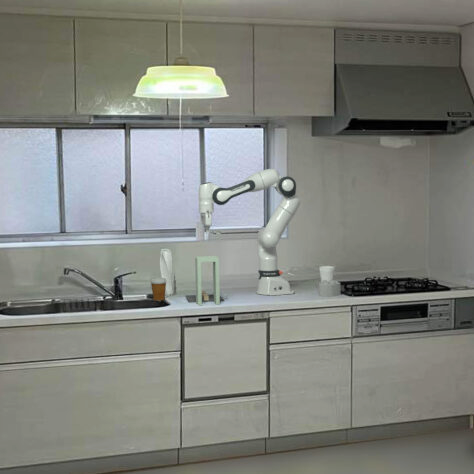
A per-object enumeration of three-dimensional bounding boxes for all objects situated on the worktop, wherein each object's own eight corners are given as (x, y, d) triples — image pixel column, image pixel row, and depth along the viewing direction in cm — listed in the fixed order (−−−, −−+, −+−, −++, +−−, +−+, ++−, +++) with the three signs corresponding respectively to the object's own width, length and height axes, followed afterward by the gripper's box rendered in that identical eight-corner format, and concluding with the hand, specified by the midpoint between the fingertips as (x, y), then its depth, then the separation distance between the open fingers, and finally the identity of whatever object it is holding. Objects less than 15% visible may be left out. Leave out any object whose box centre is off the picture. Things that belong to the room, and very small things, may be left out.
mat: (218, 295, 432) (218, 294, 432) (224, 300, 411) (224, 299, 411) (185, 296, 428) (185, 295, 428) (188, 302, 408) (188, 301, 408)
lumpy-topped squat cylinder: (342, 295, 425) (342, 280, 424) (326, 297, 418) (326, 282, 417) (331, 292, 434) (331, 278, 433) (314, 295, 427) (314, 280, 426)
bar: (199, 295, 429) (199, 290, 429) (203, 294, 429) (203, 290, 429) (204, 300, 410) (204, 296, 410) (208, 300, 411) (208, 295, 411)
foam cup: (333, 288, 448) (333, 268, 447) (318, 288, 450) (318, 267, 449) (334, 286, 457) (334, 266, 456) (320, 286, 459) (320, 266, 458)
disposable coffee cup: (160, 301, 412) (159, 280, 411) (147, 300, 418) (146, 279, 416) (170, 298, 421) (170, 278, 420) (157, 297, 426) (157, 277, 425)
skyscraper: (169, 296, 430) (168, 249, 428) (158, 295, 434) (156, 248, 431) (176, 294, 438) (175, 248, 435) (165, 293, 441) (164, 247, 439)
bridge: (217, 301, 409) (216, 255, 407) (219, 304, 400) (218, 257, 397) (196, 302, 408) (195, 256, 405) (198, 305, 398) (197, 258, 395)
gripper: (213, 210, 422) (214, 233, 423) (209, 208, 442) (209, 231, 443) (203, 210, 421) (203, 234, 422) (199, 209, 441) (199, 231, 442)
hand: (206, 232), depth 432 cm, fingers open, 8 cm apart
